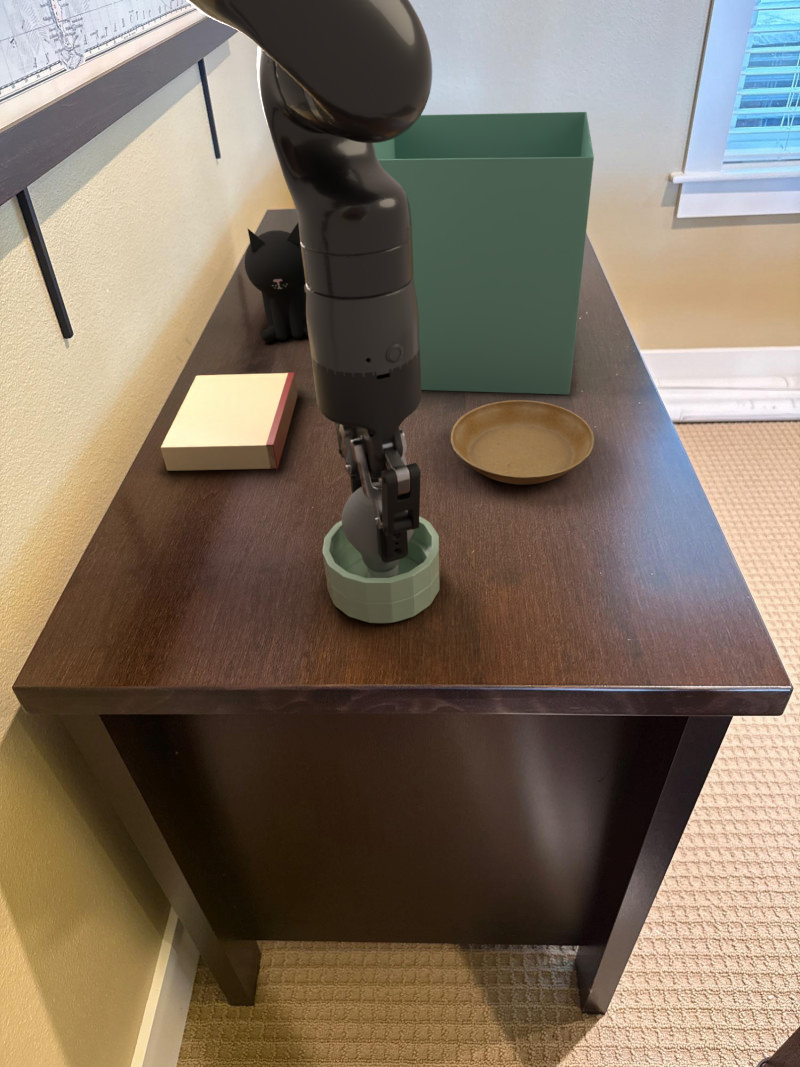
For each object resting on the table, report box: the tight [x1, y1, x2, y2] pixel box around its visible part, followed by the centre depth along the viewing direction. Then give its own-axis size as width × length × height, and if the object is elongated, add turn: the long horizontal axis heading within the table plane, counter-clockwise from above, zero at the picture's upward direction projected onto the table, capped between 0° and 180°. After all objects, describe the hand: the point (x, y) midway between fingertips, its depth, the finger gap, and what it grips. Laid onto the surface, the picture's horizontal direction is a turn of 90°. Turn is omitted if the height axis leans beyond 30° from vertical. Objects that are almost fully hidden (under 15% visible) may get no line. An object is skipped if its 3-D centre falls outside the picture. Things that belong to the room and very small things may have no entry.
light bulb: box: [341, 481, 414, 578], centre depth 64 cm, size 6×6×10 cm
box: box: [373, 111, 595, 396], centre depth 93 cm, size 23×21×26 cm
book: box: [160, 371, 299, 472], centre depth 88 cm, size 16×12×3 cm
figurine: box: [244, 222, 308, 343], centre depth 104 cm, size 16×14×15 cm
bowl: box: [321, 515, 441, 624], centre depth 66 cm, size 10×10×5 cm
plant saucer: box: [450, 399, 595, 486], centre depth 81 cm, size 15×15×3 cm
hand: (380, 532), depth 63 cm, fingers closed on light bulb, 6 cm apart
